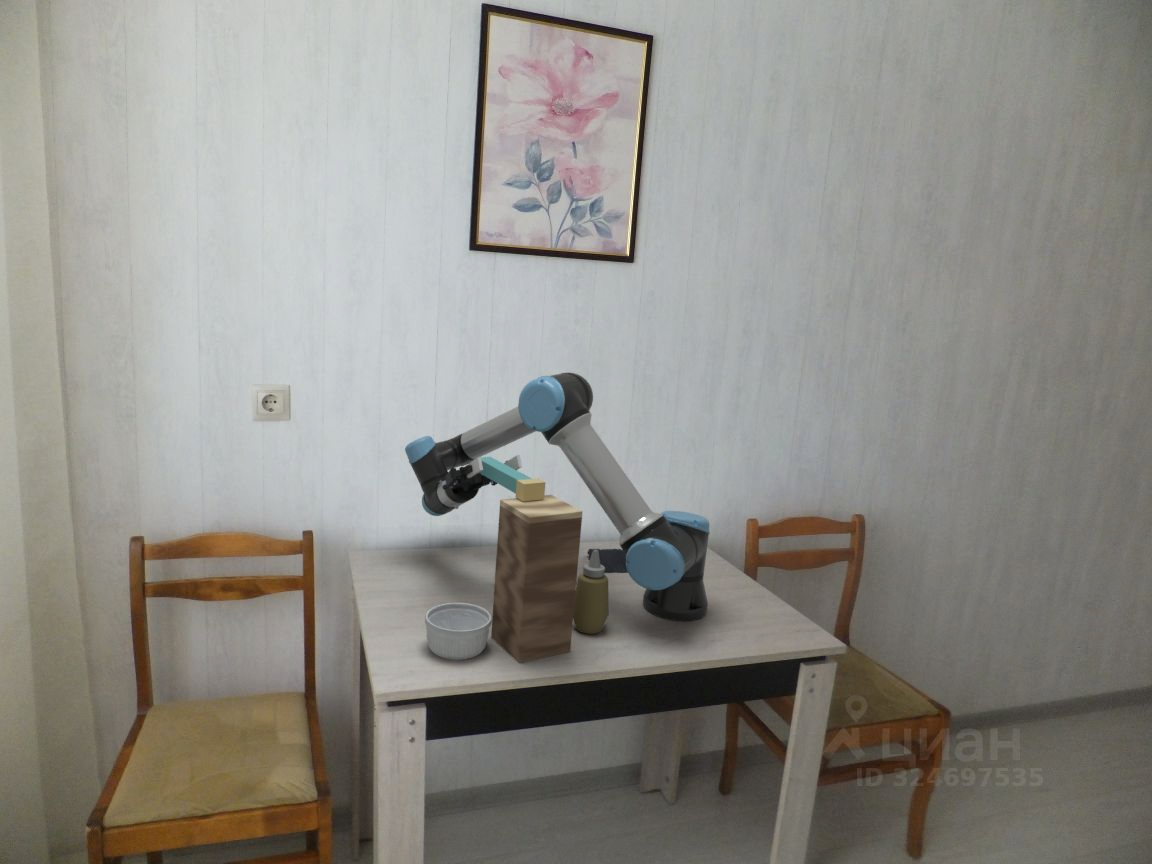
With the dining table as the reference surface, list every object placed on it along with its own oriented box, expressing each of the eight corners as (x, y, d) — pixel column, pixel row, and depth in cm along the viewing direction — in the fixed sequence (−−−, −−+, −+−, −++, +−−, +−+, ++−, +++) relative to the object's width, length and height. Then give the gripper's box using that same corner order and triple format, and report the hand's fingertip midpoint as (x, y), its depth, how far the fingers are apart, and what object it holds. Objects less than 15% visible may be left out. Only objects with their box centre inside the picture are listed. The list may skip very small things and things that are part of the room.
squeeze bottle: (570, 619, 187) (577, 542, 183) (607, 622, 187) (614, 546, 183) (569, 635, 179) (576, 555, 175) (607, 638, 179) (614, 558, 175)
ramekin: (496, 660, 165) (498, 627, 164) (429, 666, 161) (431, 632, 160) (481, 631, 178) (483, 600, 176) (418, 635, 173) (420, 604, 172)
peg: (472, 472, 187) (473, 456, 186) (492, 470, 190) (493, 455, 189) (522, 501, 168) (524, 484, 167) (544, 499, 171) (545, 482, 170)
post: (491, 637, 175) (500, 499, 169) (540, 627, 181) (551, 494, 175) (519, 662, 165) (529, 517, 159) (570, 651, 172) (582, 511, 165)
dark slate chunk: (581, 554, 230) (583, 537, 229) (656, 553, 236) (658, 537, 235) (597, 575, 215) (599, 558, 214) (677, 574, 221) (679, 557, 220)
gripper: (501, 499, 204) (546, 475, 186) (418, 507, 192) (457, 483, 174) (496, 469, 206) (539, 443, 188) (413, 476, 194) (451, 448, 176)
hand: (500, 462), depth 181 cm, fingers open, 9 cm apart
